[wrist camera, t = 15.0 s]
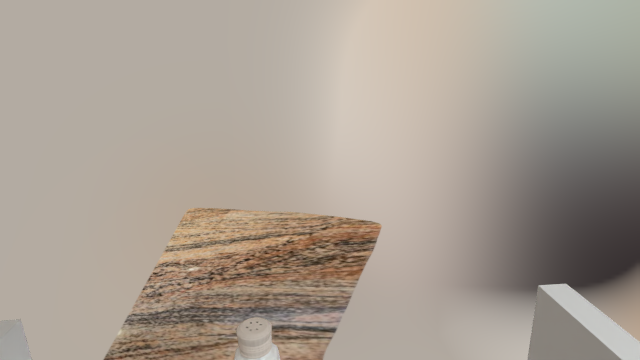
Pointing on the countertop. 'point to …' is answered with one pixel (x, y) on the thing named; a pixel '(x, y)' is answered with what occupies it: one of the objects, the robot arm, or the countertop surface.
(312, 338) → the countertop surface
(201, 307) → the countertop surface
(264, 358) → the salt shaker
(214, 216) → the countertop surface
